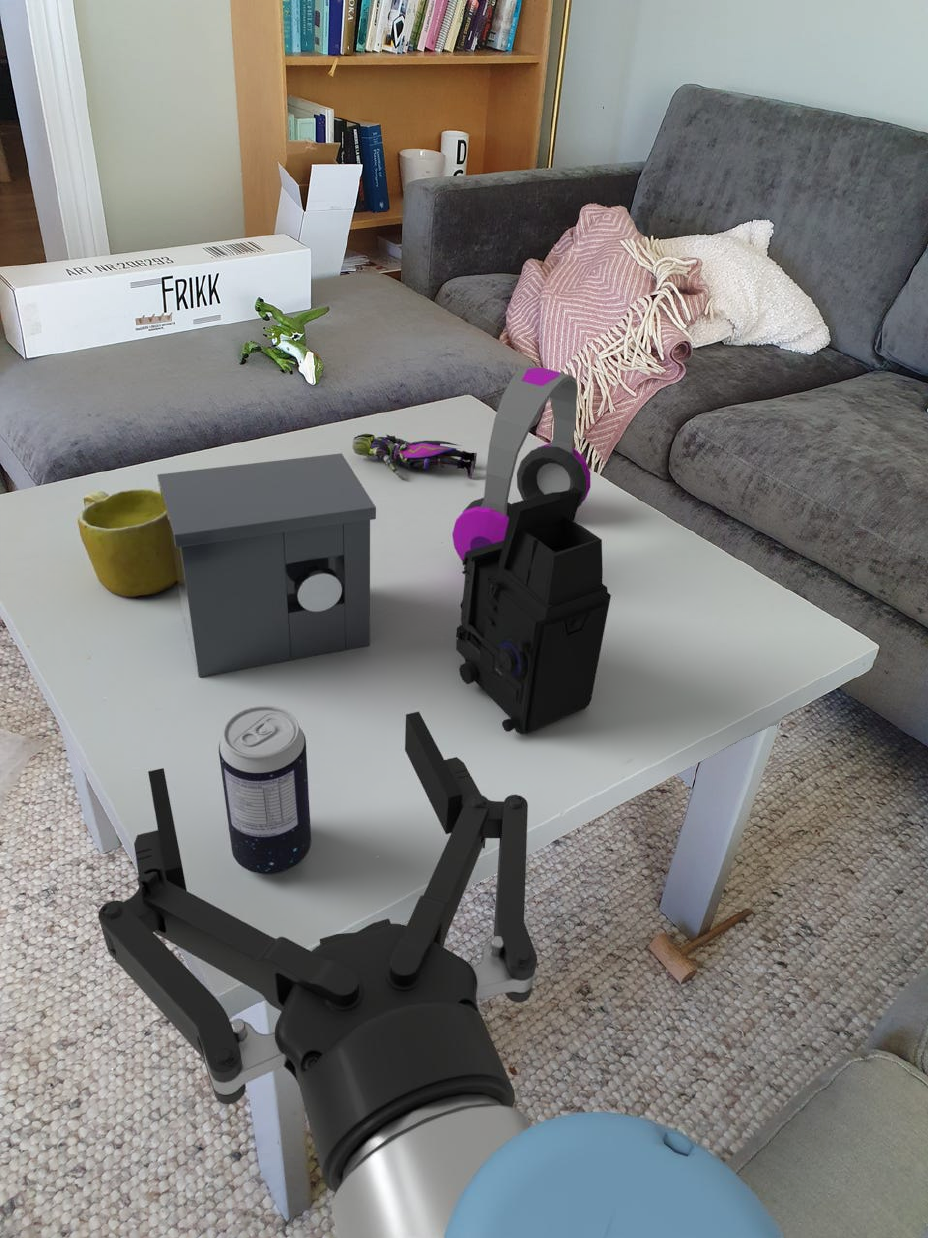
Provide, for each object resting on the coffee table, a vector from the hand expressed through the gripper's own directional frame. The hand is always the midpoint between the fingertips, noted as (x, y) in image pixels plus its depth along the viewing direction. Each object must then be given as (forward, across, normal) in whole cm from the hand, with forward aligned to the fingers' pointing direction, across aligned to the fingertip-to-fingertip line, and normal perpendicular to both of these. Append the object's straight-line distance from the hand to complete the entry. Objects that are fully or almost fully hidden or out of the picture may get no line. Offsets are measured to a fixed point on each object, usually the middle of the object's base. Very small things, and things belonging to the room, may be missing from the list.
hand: (291, 757), depth 49 cm
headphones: (+45, +36, -19) cm, 60 cm away
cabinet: (+36, +6, -19) cm, 41 cm away
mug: (+51, -6, -19) cm, 54 cm away
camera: (+22, +25, -19) cm, 38 cm away
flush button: (+30, +9, -13) cm, 34 cm away
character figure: (+66, +30, -19) cm, 75 cm away
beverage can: (+10, 0, -19) cm, 21 cm away
